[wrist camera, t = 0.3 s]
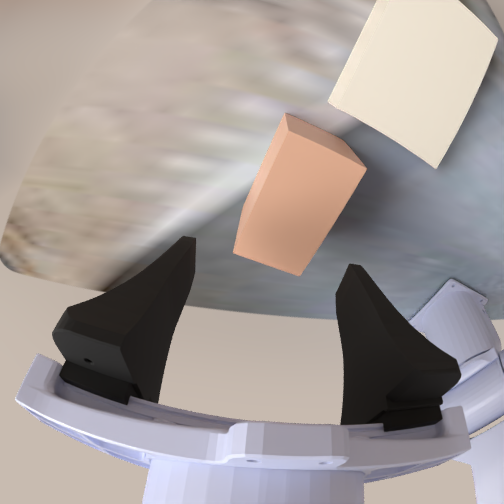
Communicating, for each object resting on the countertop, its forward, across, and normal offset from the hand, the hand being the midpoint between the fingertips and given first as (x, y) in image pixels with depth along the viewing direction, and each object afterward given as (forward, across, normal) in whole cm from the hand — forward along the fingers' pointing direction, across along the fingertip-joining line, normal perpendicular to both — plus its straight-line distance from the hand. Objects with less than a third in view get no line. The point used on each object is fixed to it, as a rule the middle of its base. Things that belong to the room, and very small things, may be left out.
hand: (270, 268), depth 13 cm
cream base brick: (+10, -8, -12) cm, 17 cm away
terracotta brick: (+10, -1, -1) cm, 10 cm away
